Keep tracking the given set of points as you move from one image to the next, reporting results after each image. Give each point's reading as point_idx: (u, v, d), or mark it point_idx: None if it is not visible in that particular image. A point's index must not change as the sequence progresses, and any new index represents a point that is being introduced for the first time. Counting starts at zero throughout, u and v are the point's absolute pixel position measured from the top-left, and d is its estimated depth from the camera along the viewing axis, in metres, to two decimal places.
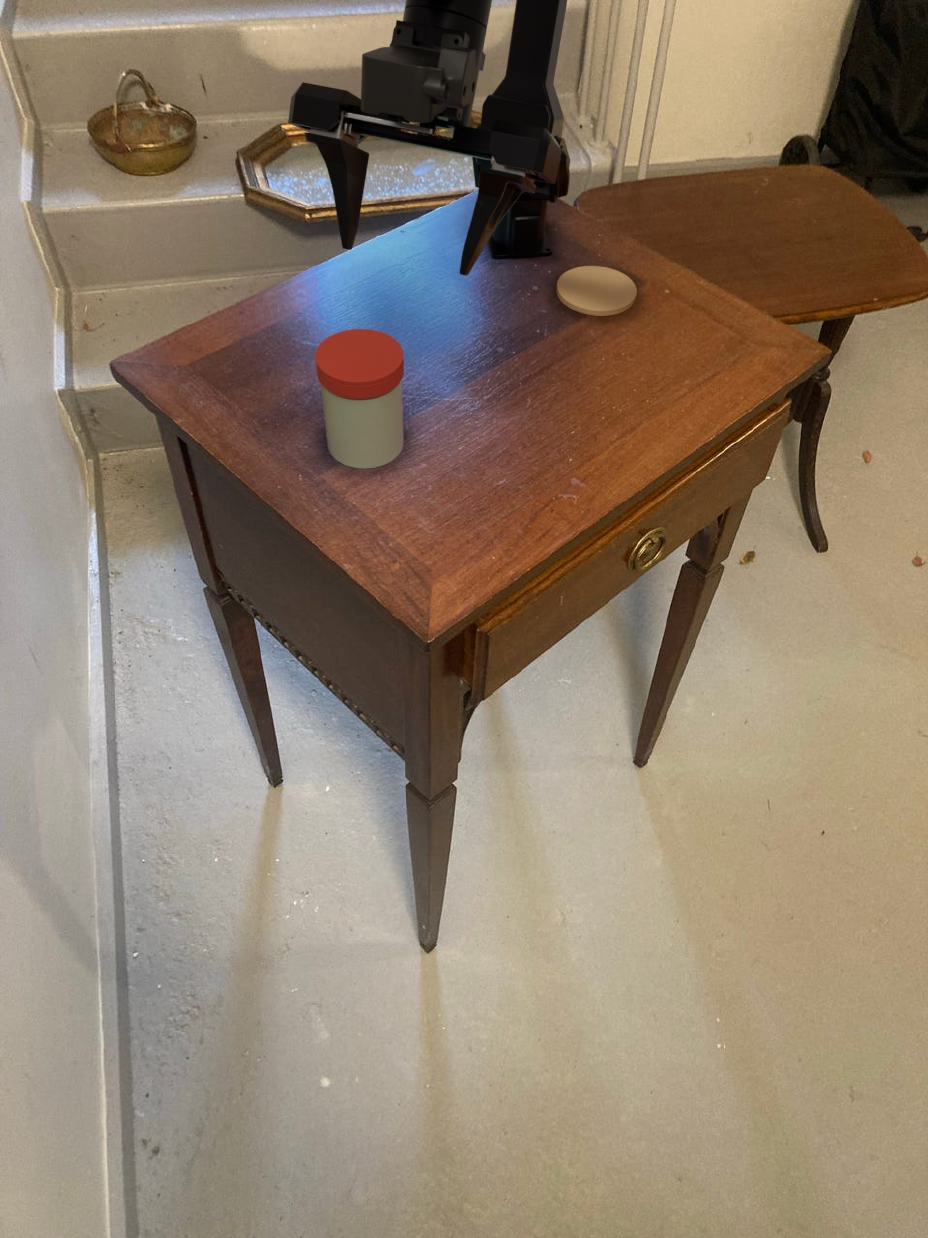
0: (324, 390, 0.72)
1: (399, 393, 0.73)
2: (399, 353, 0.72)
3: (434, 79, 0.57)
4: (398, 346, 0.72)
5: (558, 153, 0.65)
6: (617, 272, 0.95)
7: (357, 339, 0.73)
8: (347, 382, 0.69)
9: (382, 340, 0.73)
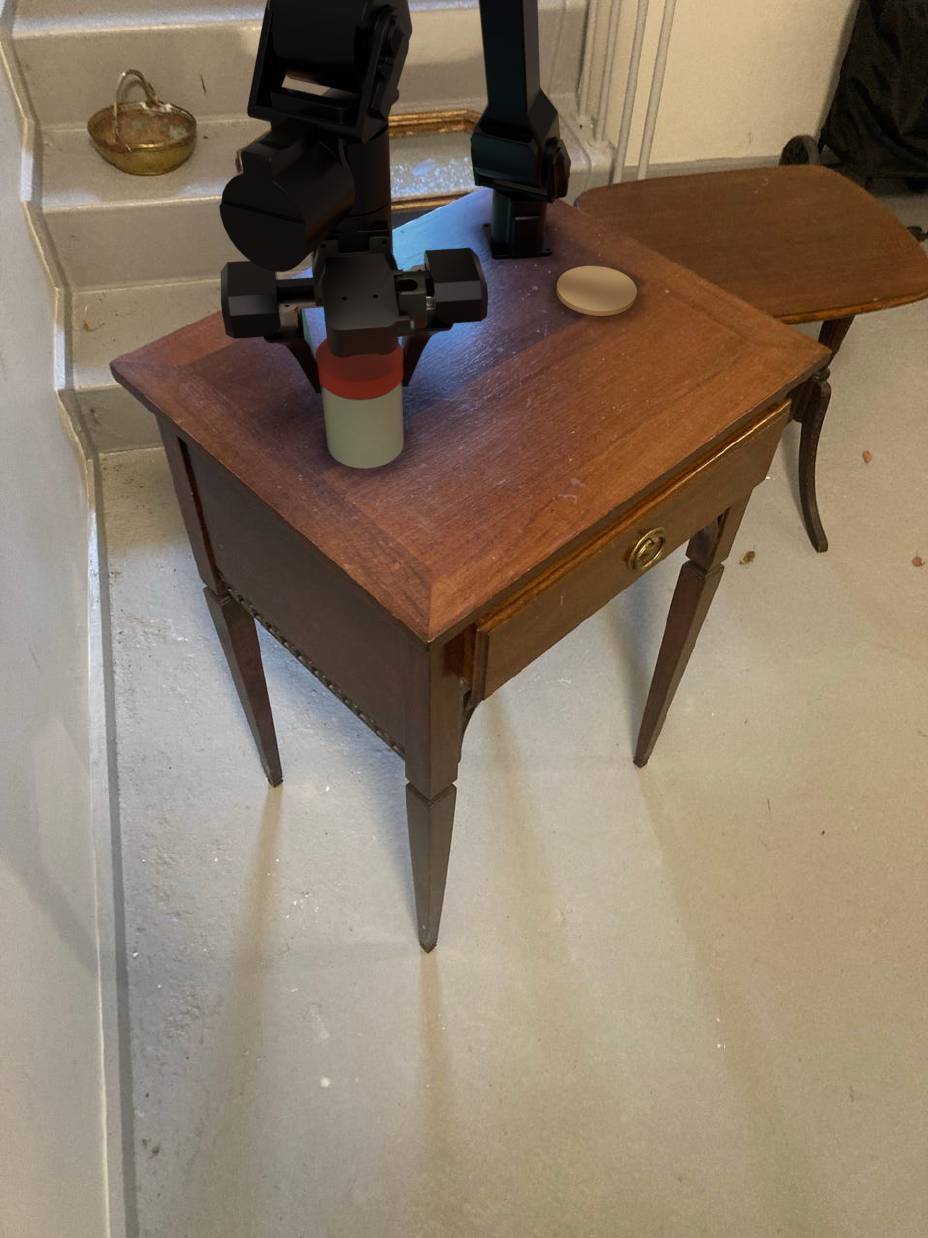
0: (324, 390, 0.72)
1: (399, 393, 0.73)
2: (399, 353, 0.72)
3: (403, 326, 0.61)
4: (398, 346, 0.72)
5: None
6: (617, 272, 0.95)
7: None
8: (347, 382, 0.69)
9: None
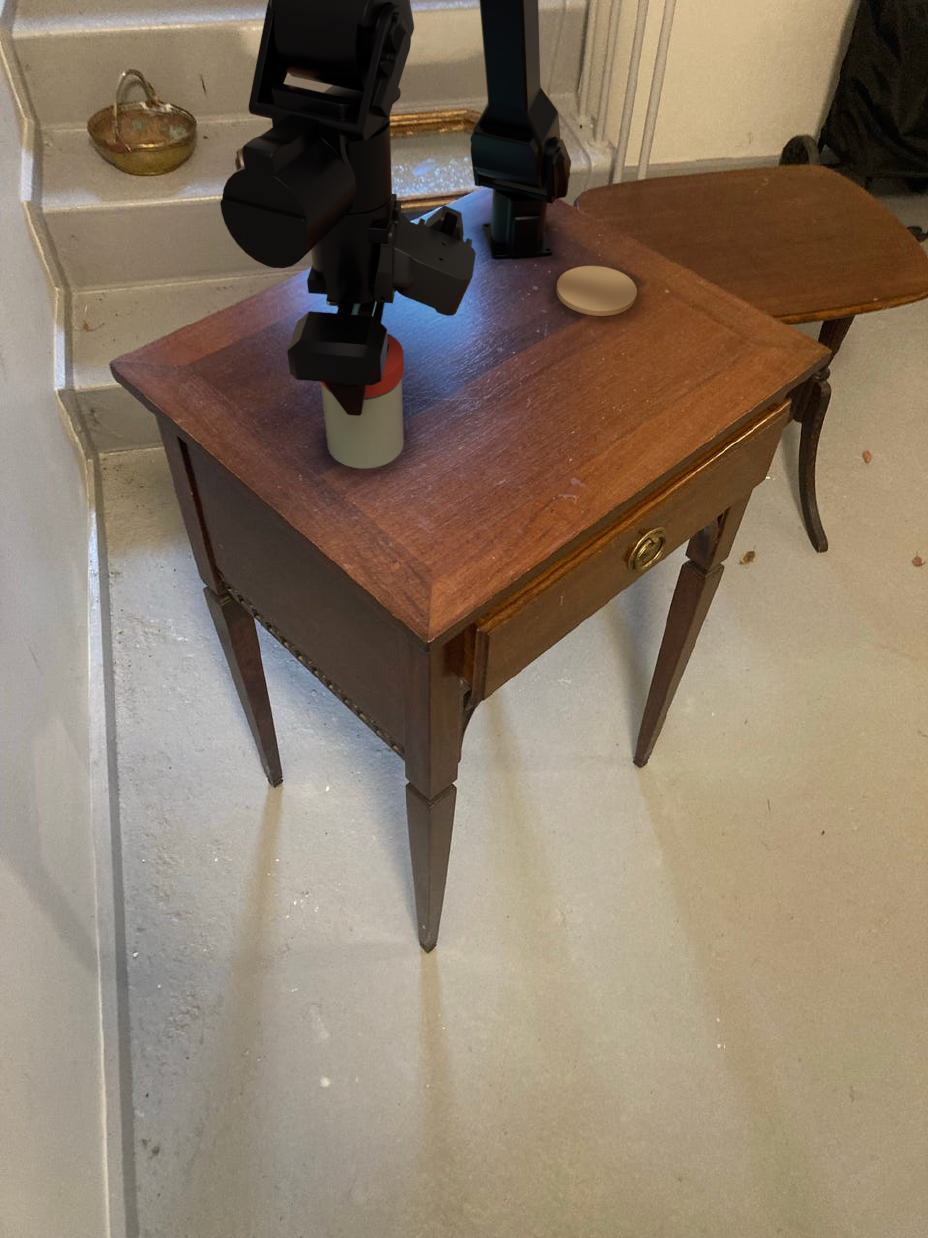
0: (324, 390, 0.72)
1: (399, 393, 0.73)
2: None
3: None
4: None
5: None
6: (617, 272, 0.95)
7: None
8: (397, 367, 0.71)
9: None
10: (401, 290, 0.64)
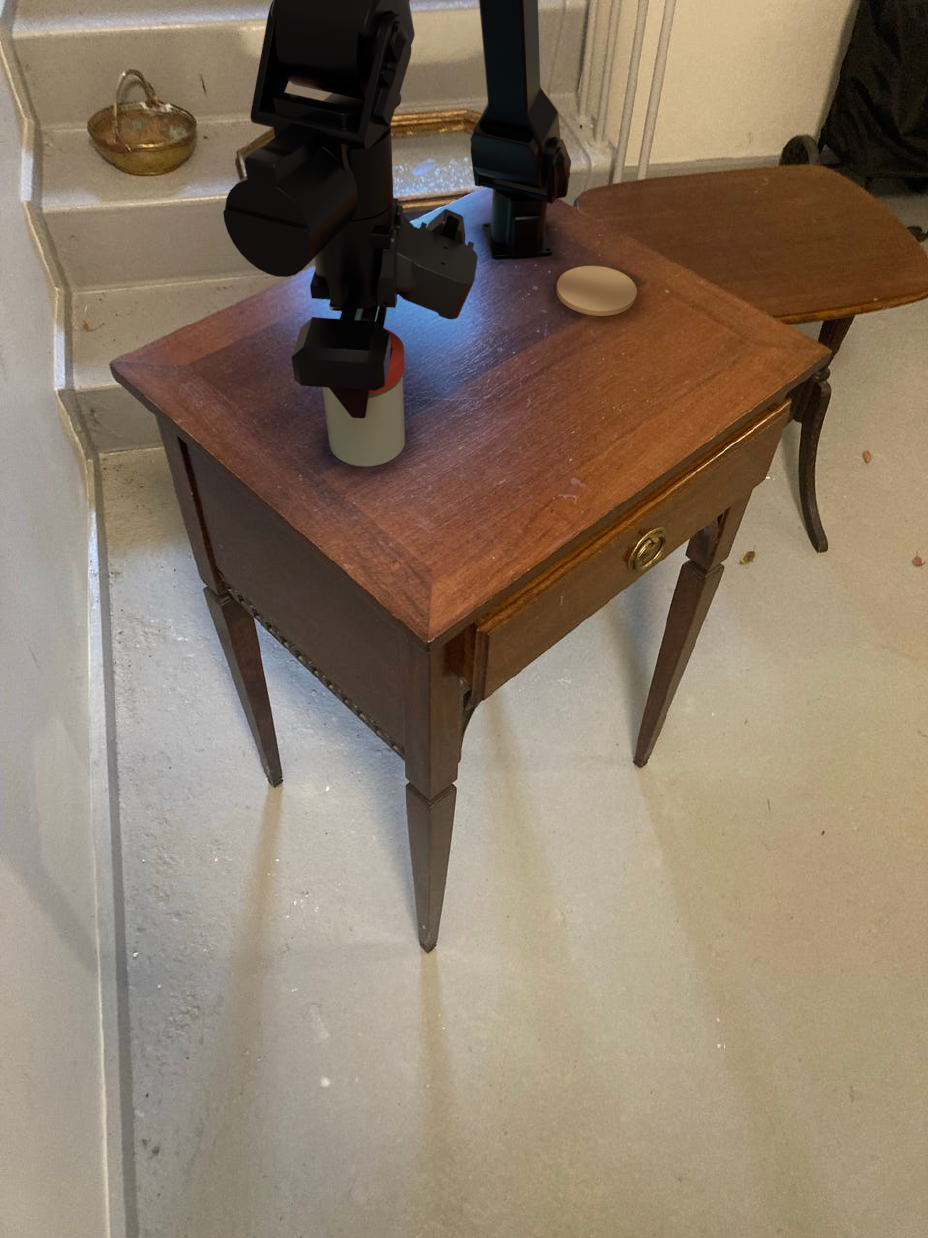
0: (325, 389, 0.72)
1: (400, 391, 0.73)
2: None
3: None
4: None
5: None
6: (617, 272, 0.95)
7: None
8: (390, 332, 0.73)
9: None
10: (404, 294, 0.65)
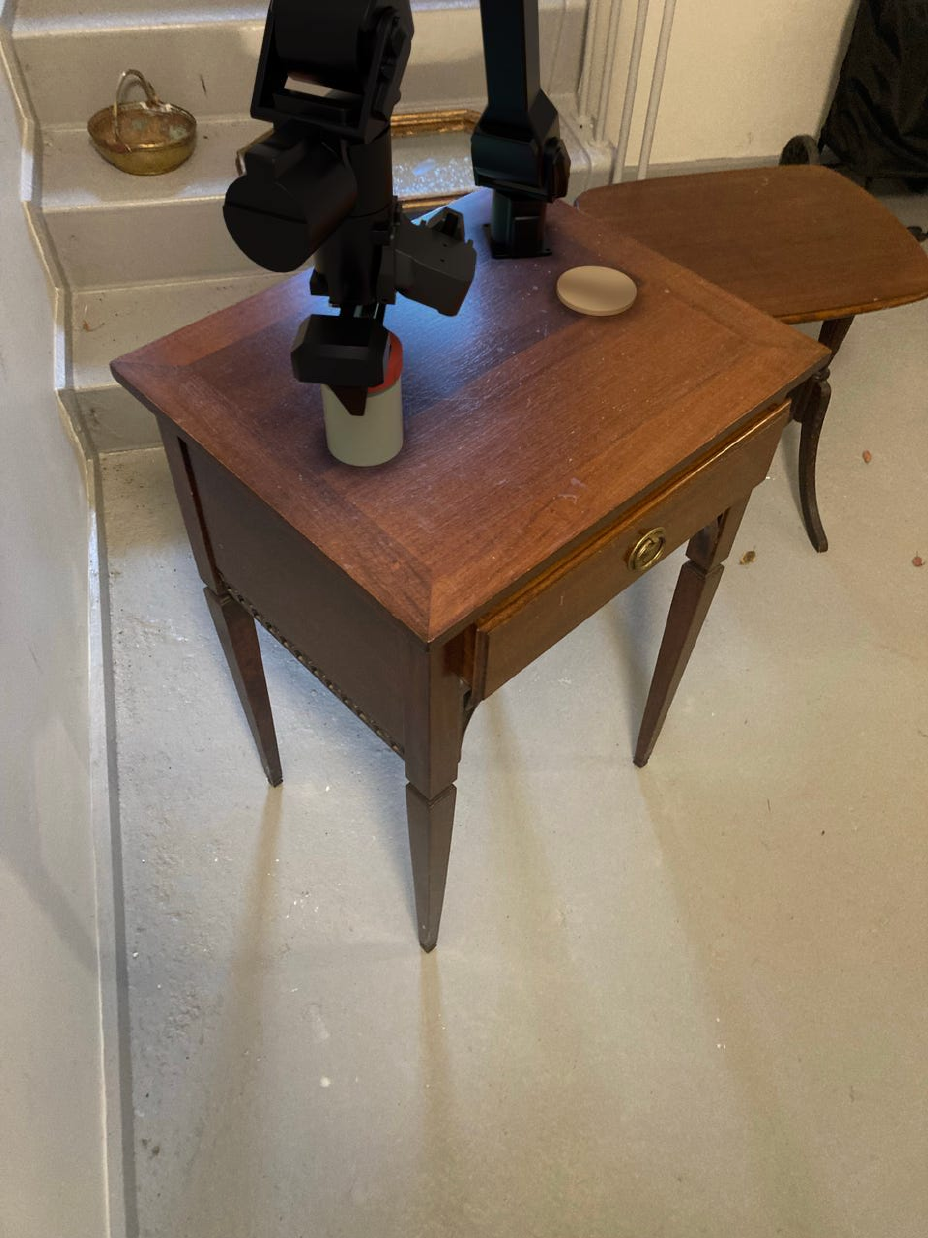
0: (323, 388, 0.72)
1: (398, 391, 0.73)
2: None
3: None
4: None
5: None
6: (617, 272, 0.95)
7: None
8: None
9: None
10: (403, 292, 0.65)
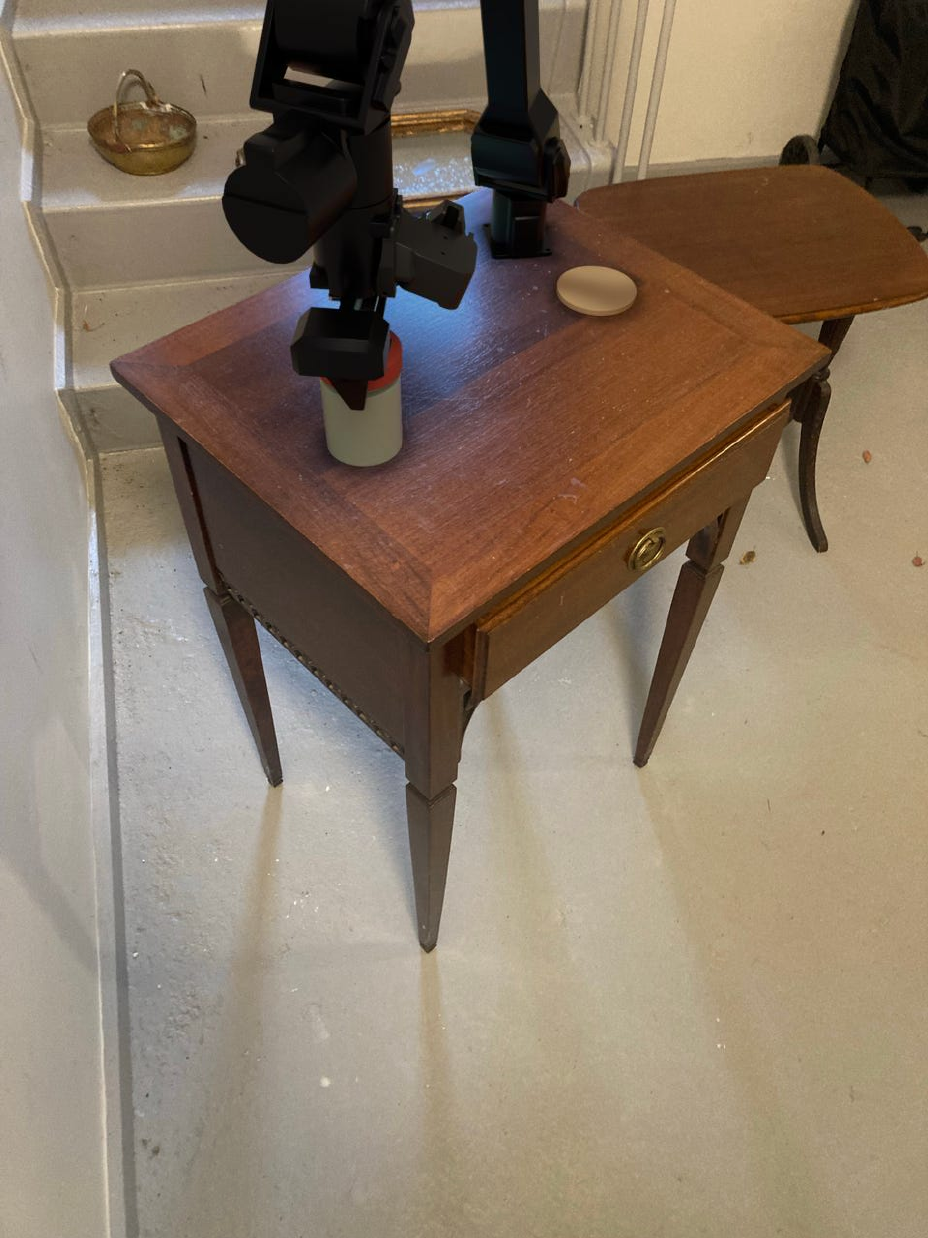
0: (323, 388, 0.72)
1: (398, 391, 0.73)
2: None
3: None
4: (390, 362, 0.70)
5: None
6: (617, 272, 0.95)
7: None
8: None
9: None
10: (403, 285, 0.64)
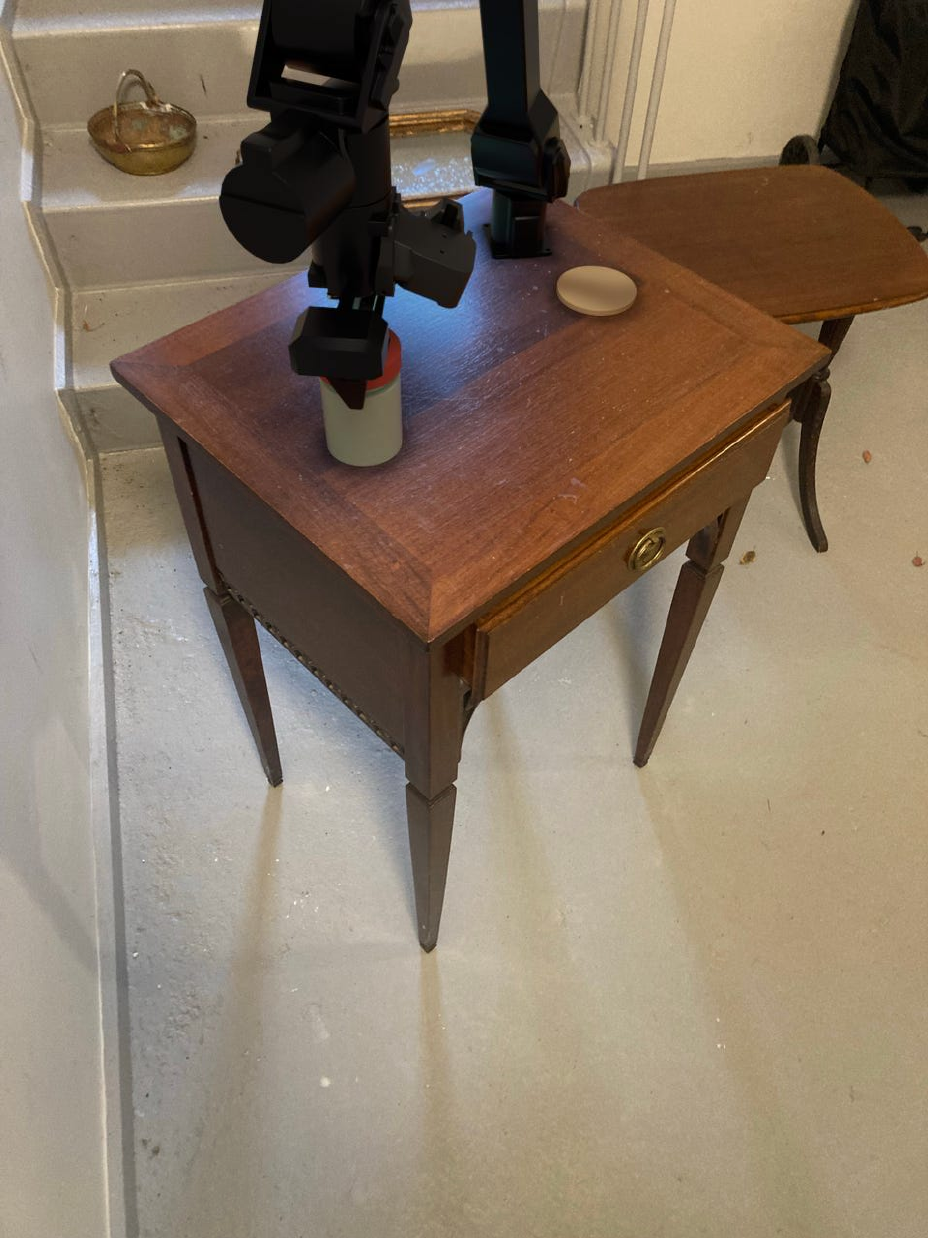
0: (323, 388, 0.72)
1: (398, 391, 0.73)
2: (394, 337, 0.72)
3: None
4: (390, 331, 0.72)
5: None
6: (617, 272, 0.95)
7: None
8: None
9: None
10: (402, 283, 0.64)
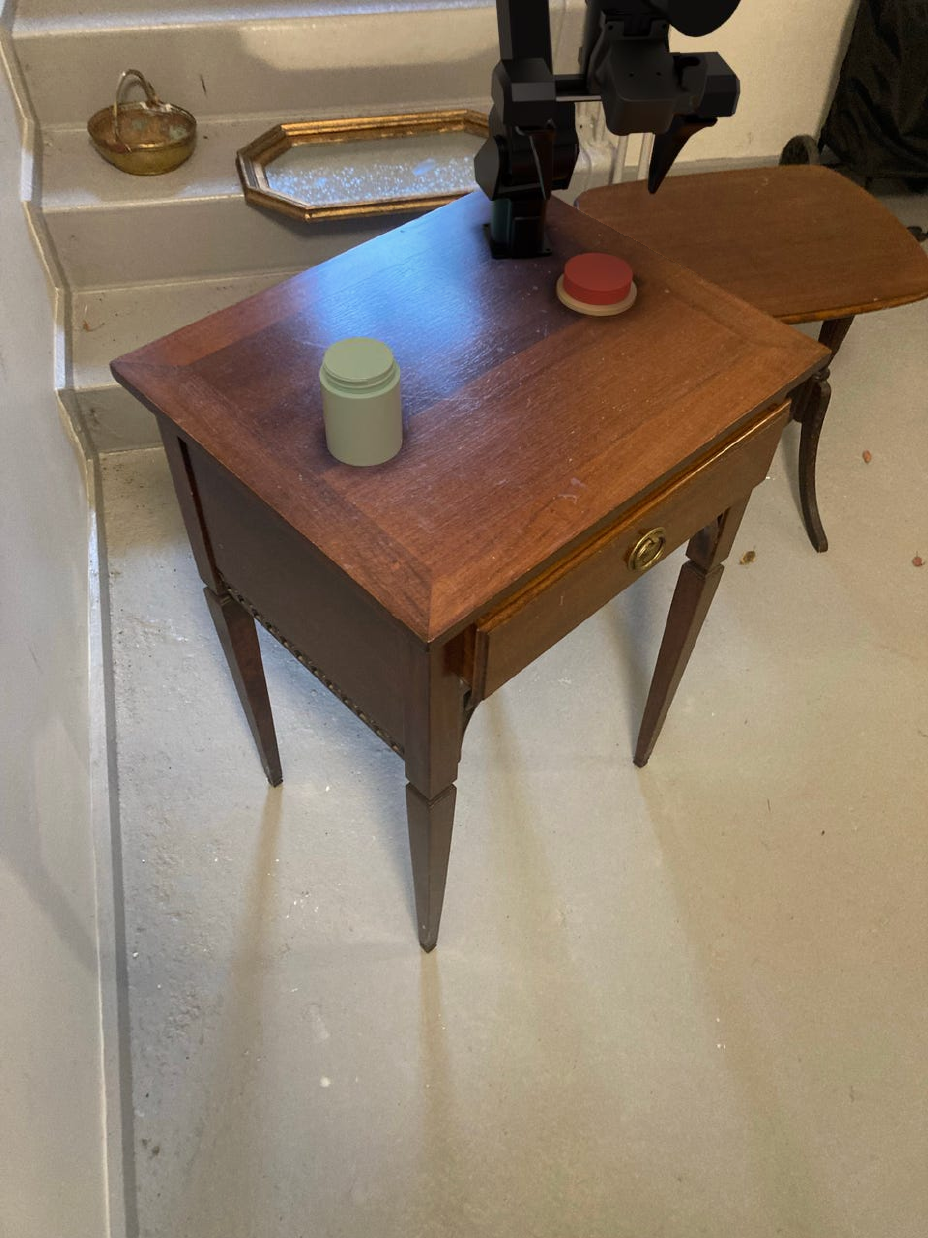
0: (323, 388, 0.72)
1: (398, 391, 0.73)
2: (619, 285, 0.90)
3: (683, 102, 0.66)
4: (626, 282, 0.91)
5: None
6: None
7: (612, 264, 0.93)
8: (567, 278, 0.91)
9: (623, 274, 0.91)
10: (600, 86, 0.69)
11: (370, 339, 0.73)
